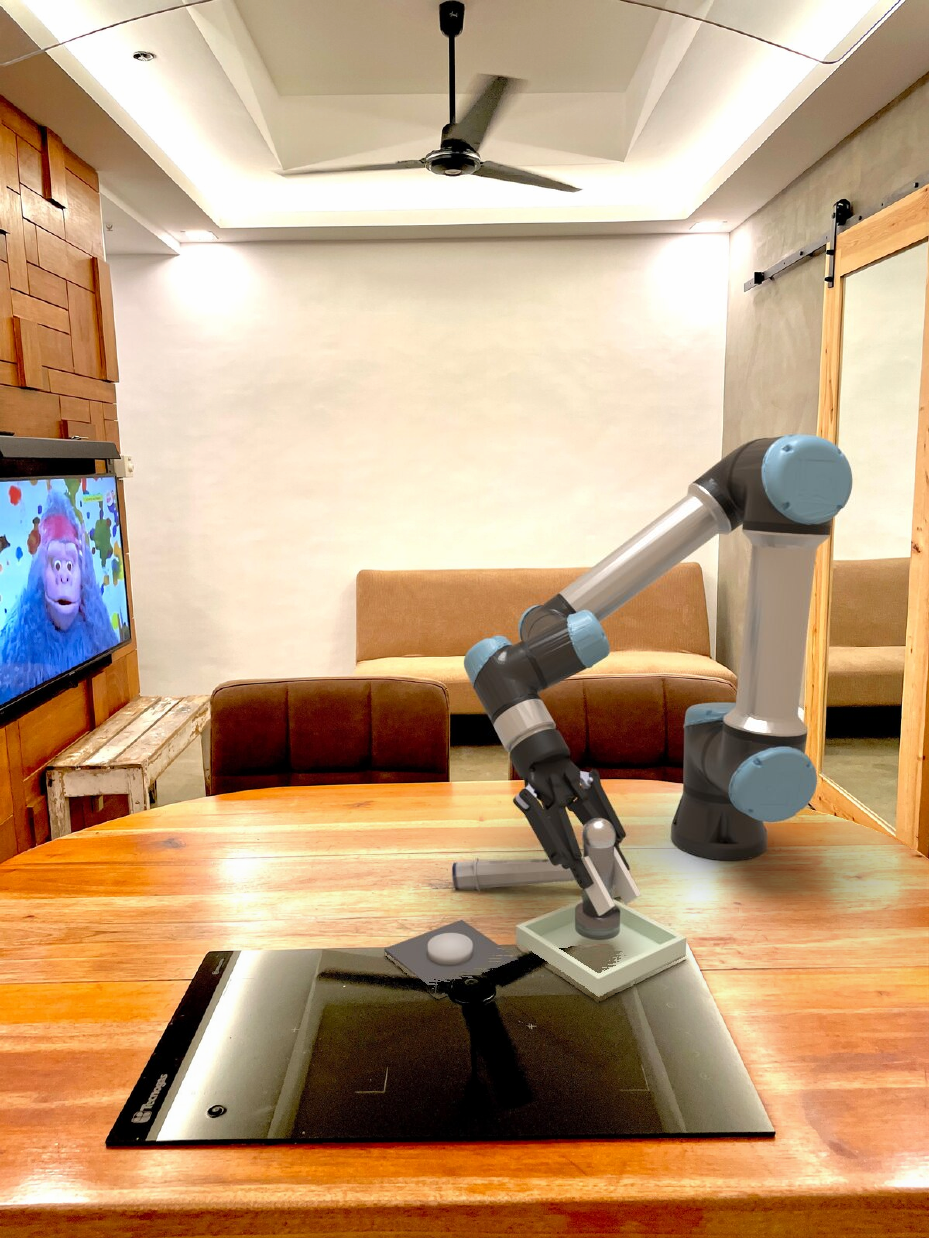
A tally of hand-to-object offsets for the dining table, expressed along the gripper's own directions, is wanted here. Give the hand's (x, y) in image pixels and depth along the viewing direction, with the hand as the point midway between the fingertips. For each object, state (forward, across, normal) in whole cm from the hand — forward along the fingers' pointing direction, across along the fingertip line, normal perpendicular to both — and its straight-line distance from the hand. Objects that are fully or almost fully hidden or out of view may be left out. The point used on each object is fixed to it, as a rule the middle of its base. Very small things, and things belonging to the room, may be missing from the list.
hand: (619, 904), depth 106 cm
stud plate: (-4, +16, -16) cm, 22 cm away
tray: (+3, 0, -8) cm, 9 cm away
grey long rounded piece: (-9, -5, -21) cm, 24 cm away
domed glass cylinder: (+1, 0, -6) cm, 6 cm away
